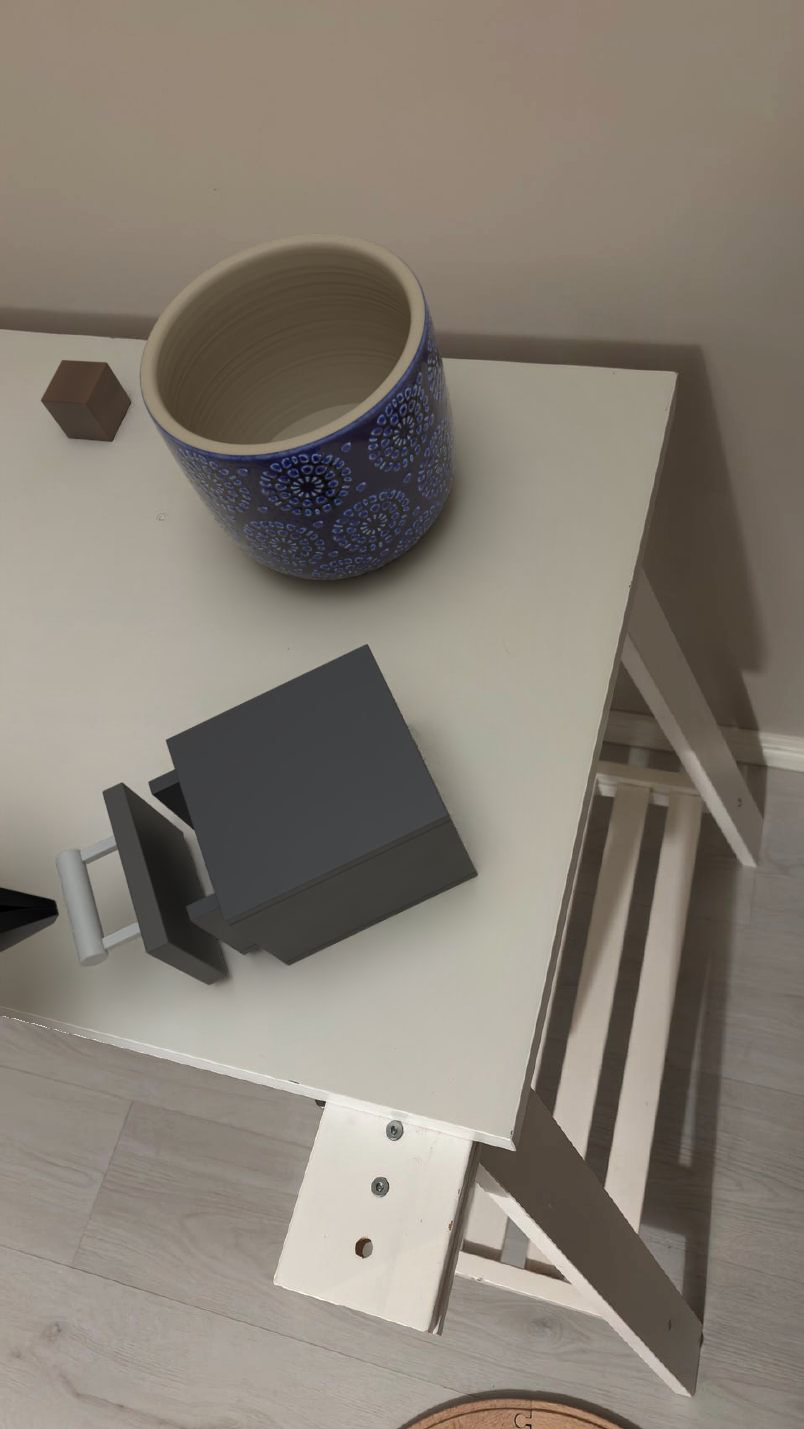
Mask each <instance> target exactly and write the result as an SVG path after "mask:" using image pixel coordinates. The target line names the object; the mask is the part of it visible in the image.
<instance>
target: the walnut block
mask: <svg viewBox="0 0 804 1429" xmlns="http://www.w3.org/2000/svg"><path fill="white" fill-rule="evenodd" d="M40 402H41V403H42V405H43V406H44V407H45V408H46V410H47V411H48V413H49V415H51V417H52V418H53V420H54V421H55V422H56V423H57V425H58V426H59V427H60V429H61V430H62V431H63V433H64V434H65V436H66V437H67V438H70V439H80V440H81V439H83V440H94V441H105V442H106V441H107V442H112V441H113V440H114V437H115V435H116V434H117V432H118V429H119V428H120V426H121V424H122V421H123V420H124V417H125V416H126V414H127V411H128V409H129V407H130V405H131V403H132V400H131V398H130V396H129V395H128V393H127V392H126V390H125V388H124V387H123V385H122V383H121V382H120V380H119V379H118V377H117V376H116V374H115V372H114V370H113V369H112V367H111V366H110V365H109V363H108V362H106V361H90V360H89V361H88V360H70V359H62V360H61V361H60V363H59V364H58V366H57V369H56V370H55V372H54V374H53V376H52V378H51V380H50V381H49V383H48V386H47V387H46V388H45V391H44V393H43V395H42V397H41V398H40Z"/></svg>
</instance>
